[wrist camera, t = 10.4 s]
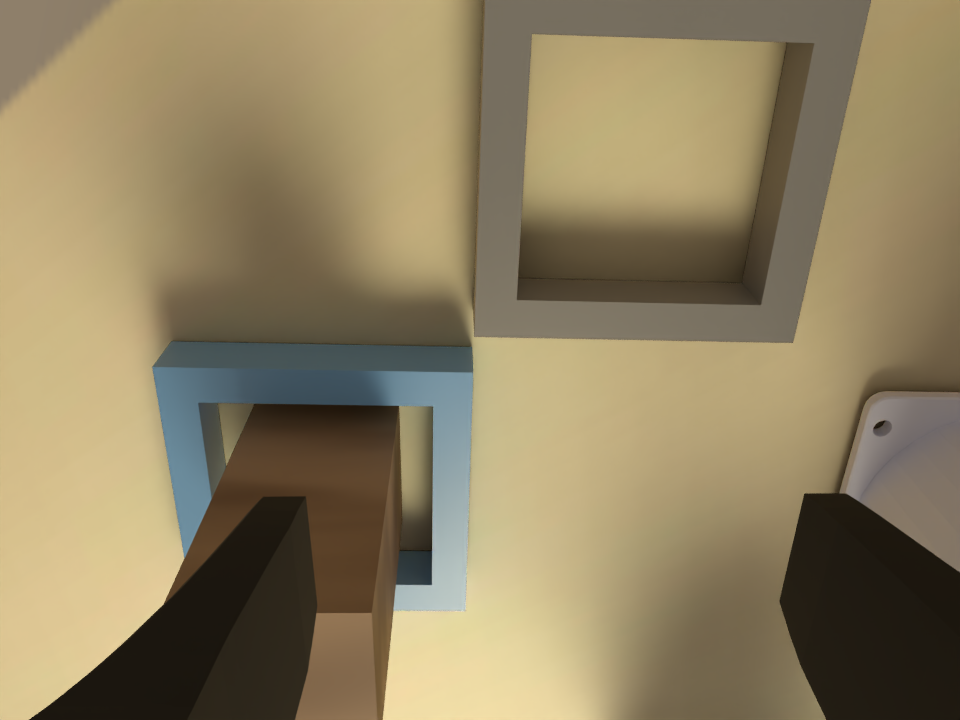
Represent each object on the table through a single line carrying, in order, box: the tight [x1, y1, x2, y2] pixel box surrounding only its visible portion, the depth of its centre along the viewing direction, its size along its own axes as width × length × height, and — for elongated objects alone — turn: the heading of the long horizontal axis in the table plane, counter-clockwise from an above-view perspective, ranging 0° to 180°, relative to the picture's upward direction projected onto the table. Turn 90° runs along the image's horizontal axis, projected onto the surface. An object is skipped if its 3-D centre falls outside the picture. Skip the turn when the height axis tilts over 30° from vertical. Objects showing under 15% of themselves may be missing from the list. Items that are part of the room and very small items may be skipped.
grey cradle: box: [473, 0, 871, 343], centre depth 19 cm, size 8×8×2 cm
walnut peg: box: [164, 404, 402, 720], centre depth 20 cm, size 4×4×8 cm
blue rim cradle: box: [152, 341, 473, 611], centre depth 23 cm, size 8×8×2 cm
